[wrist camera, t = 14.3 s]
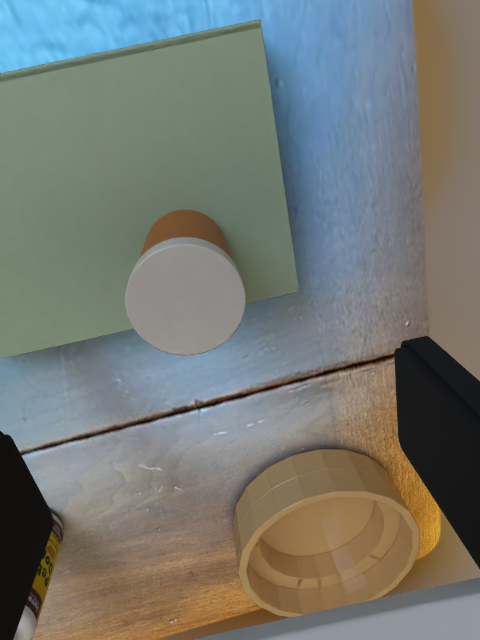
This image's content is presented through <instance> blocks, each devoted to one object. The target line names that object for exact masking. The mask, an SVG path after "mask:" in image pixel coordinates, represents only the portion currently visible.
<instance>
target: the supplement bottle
mask: <svg viewBox="0 0 480 640" xmlns="http://www.w3.org/2000/svg"><path fill="white" fill-rule="evenodd" d="M52 516H53V529H52V532H51V535H50V538H49V541H48V543H47V546H46V549H45V552H44V555H43V558H42V560H41V563H40V566H39V569H38V572H37V574H36V577H35V580H34V583H33V586H32V589H31V591H30V594H29V597H28V600H27V603H26V606H25V608H24V611H23V614H22V617H21V620H20V622H19V625H18V628H17V631H16V634H15V637H14V639H13V640H31V638H32V636H33V634H34V632H35V629H36V626H37V622H38V619H39V616H40V612H41V609H42V606H43V603H44V600H45V596H46V593H47V590H48V586H49V583H50V580H51V576H52V573H53V570H54V567H55V563H56V560H57V557H58V553H59V550H60V547H61V544H62V540H63V535H64V531H63V526H62V524H61V522H60V520H59V519H58V518H57V517H56V516H55V515H54V514H53V513H52Z"/></svg>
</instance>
